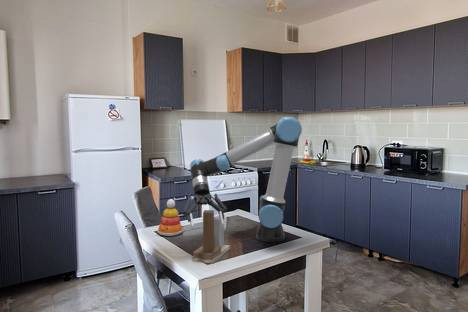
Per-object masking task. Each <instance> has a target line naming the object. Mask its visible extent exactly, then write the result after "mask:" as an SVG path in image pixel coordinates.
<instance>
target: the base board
mask: <svg viewBox="0 0 468 312" xmlns="http://www.w3.org/2000/svg"><path fill="white" fill-rule="evenodd" d="M230 249H231V246H230V245H229V244H224V245H223V246H222V247H220V246H215V247H214V252H203V244H202V245H201V246H200V247H198V248H197V249H196V250H194V251H193V252H192V257H191V261H192V262H197V263H204V264H205V263H206V264H211V265H213V264H214V263H216V262H217V261H218V260H219V259H221V257H222V256H223V255H225V254H226V253H227V251H229V250H230Z"/></svg>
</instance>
